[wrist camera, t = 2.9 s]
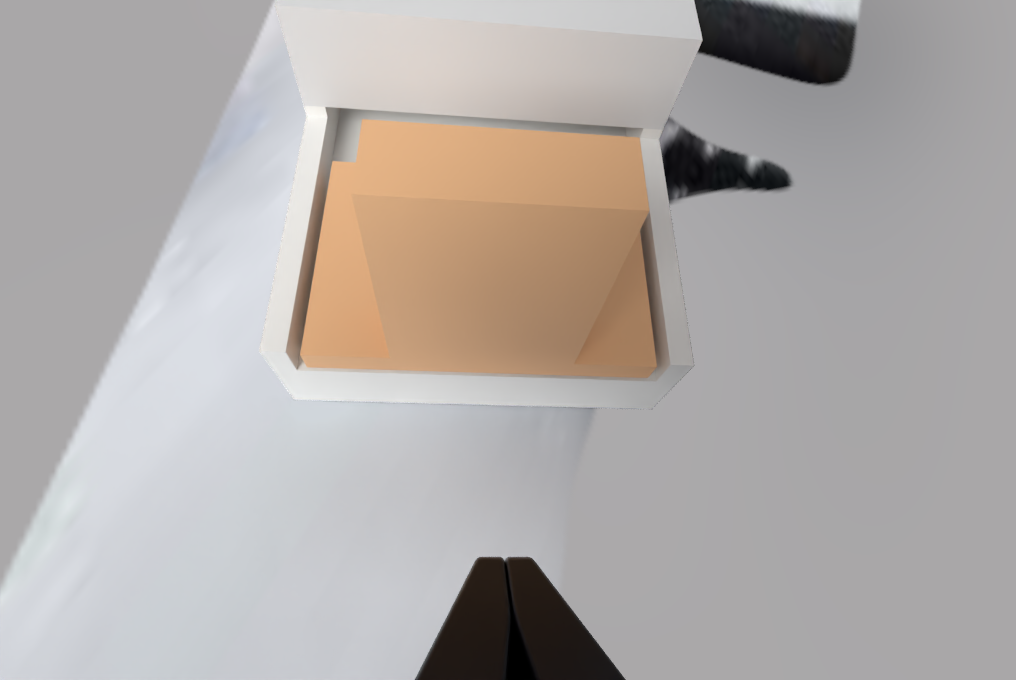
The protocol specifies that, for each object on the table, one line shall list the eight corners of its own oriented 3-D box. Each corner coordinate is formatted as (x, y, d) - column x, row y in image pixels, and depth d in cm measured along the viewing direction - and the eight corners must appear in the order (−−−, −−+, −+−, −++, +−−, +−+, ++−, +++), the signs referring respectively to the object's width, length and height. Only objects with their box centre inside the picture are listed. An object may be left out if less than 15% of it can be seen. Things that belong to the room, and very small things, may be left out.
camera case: (651, 409, 23) (759, 298, 15) (294, 399, 22) (203, 274, 14) (608, 38, 33) (660, -151, 25) (357, 18, 32) (325, -188, 23)
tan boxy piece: (647, 377, 20) (780, 218, 12) (307, 367, 19) (203, 186, 11) (626, 195, 24) (718, -24, 16) (337, 179, 23) (274, -64, 15)
